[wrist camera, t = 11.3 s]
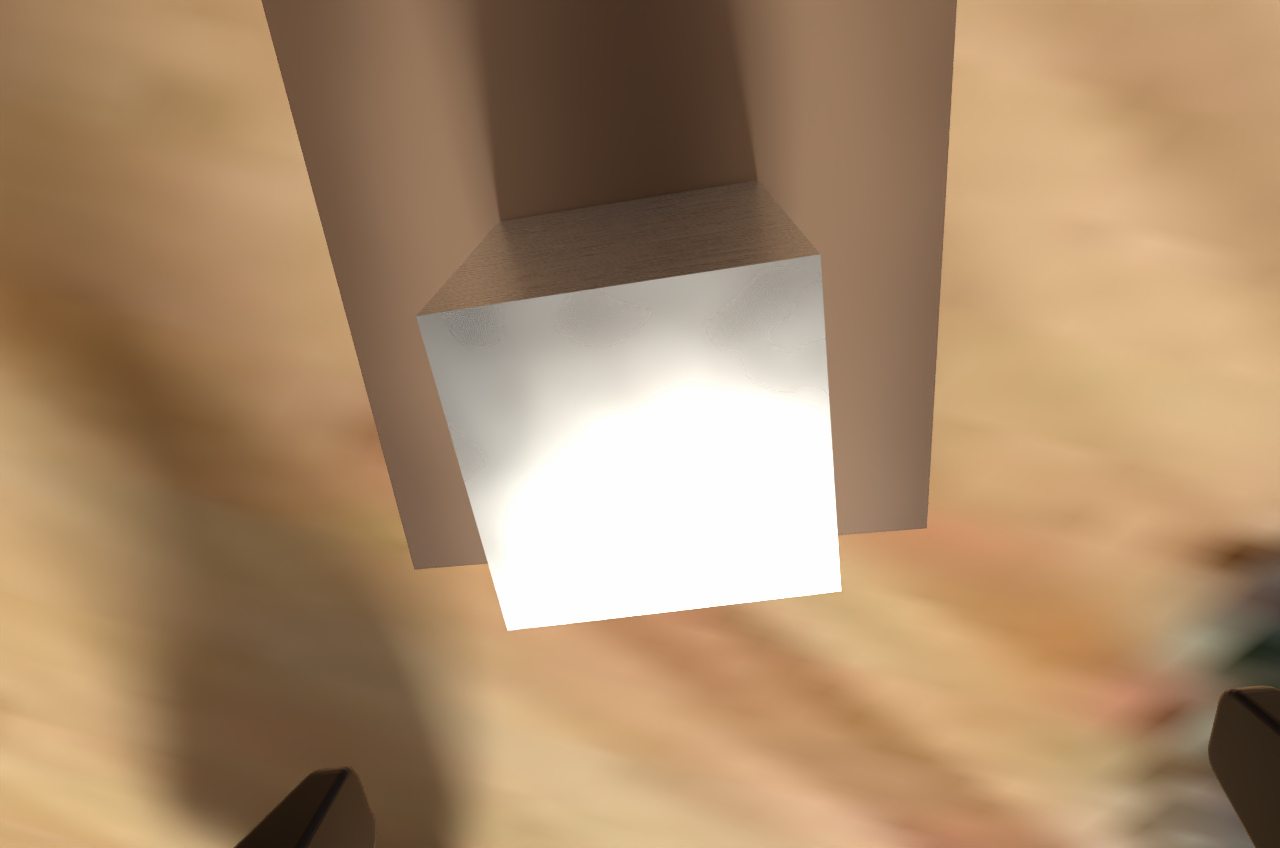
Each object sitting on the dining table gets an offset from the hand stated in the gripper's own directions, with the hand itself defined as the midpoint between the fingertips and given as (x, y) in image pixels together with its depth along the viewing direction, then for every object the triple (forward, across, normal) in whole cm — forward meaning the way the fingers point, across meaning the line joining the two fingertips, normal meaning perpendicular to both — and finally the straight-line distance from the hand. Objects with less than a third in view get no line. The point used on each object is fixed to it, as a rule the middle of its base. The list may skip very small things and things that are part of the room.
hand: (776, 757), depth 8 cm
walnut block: (+12, +1, -2) cm, 13 cm away
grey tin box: (+9, +1, -2) cm, 10 cm away
